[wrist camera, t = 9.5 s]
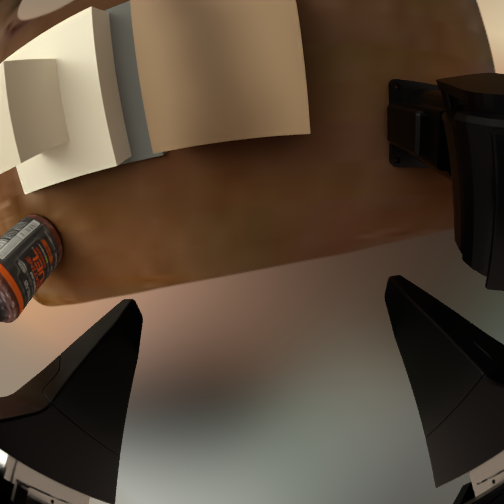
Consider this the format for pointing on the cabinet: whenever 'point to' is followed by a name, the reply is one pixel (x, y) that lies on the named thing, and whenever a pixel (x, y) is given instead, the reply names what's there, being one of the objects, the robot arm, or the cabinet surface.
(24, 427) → the robot arm
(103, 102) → the lid
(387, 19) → the cabinet surface
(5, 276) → the supplement bottle
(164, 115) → the storage box
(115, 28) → the mat
